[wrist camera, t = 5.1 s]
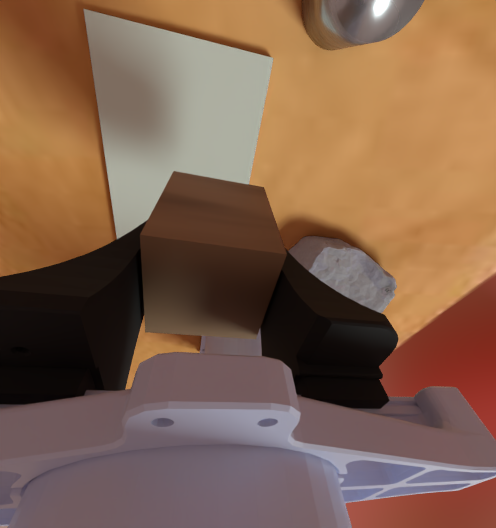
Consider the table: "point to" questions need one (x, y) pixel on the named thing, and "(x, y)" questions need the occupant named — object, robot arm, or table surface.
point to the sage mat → (171, 110)
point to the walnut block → (209, 258)
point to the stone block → (346, 270)
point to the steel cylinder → (355, 20)
